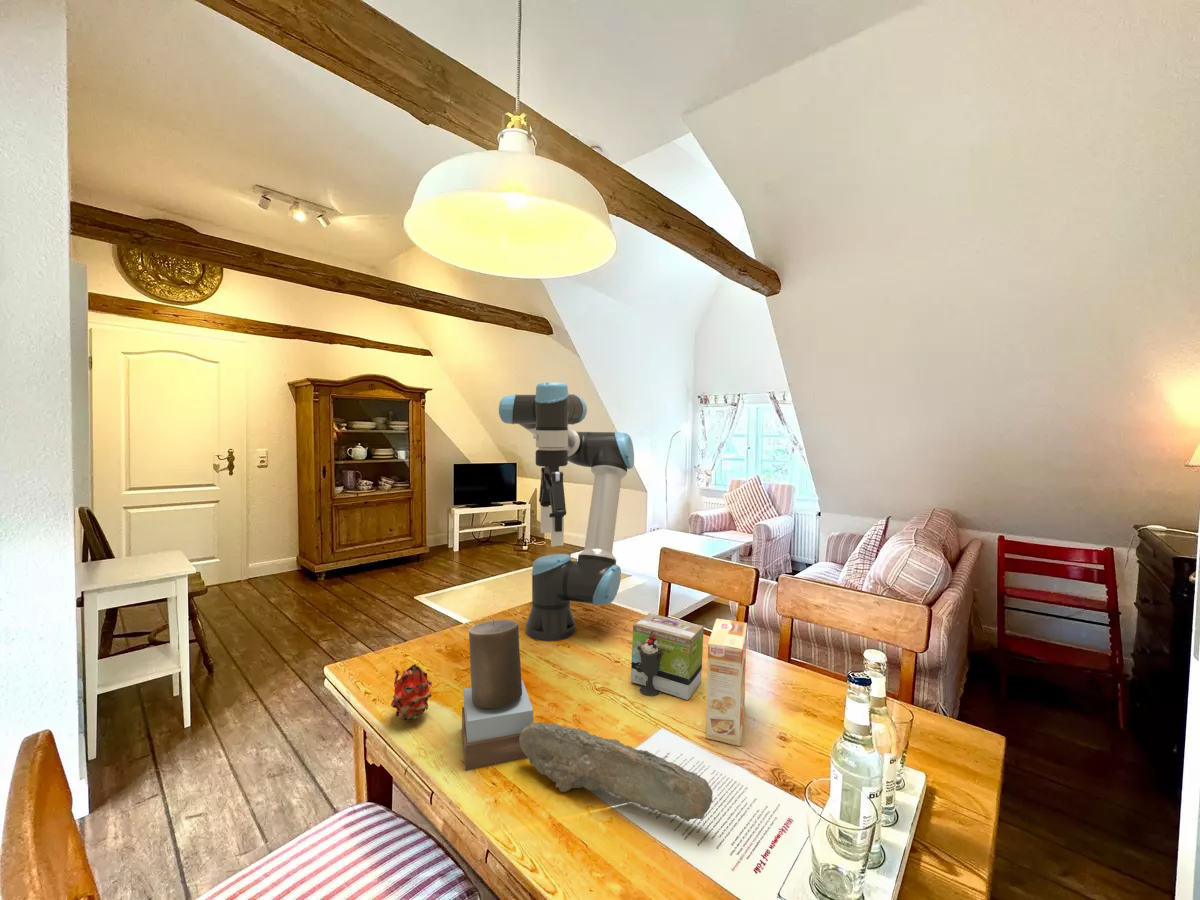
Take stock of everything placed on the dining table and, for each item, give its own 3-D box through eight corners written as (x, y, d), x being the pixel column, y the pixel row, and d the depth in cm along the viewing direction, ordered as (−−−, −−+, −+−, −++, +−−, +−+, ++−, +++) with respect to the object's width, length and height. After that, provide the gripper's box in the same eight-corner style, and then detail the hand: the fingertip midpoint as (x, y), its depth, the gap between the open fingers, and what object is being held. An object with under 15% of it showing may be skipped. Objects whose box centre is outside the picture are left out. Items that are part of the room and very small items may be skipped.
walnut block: (461, 730, 100) (462, 707, 100) (524, 719, 104) (525, 696, 104) (465, 772, 88) (465, 745, 87) (536, 758, 92) (537, 732, 92)
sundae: (645, 700, 111) (647, 635, 111) (630, 686, 117) (633, 625, 117) (669, 695, 114) (671, 631, 114) (654, 682, 120) (656, 621, 120)
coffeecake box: (741, 747, 95) (743, 649, 95) (704, 738, 98) (706, 643, 97) (746, 707, 109) (747, 621, 109) (713, 701, 112) (715, 617, 111)
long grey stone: (714, 820, 77) (716, 758, 77) (708, 845, 72) (710, 780, 72) (525, 759, 91) (526, 707, 91) (509, 778, 86) (510, 722, 86)
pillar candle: (527, 701, 93) (523, 621, 94) (474, 713, 89) (471, 630, 90) (516, 683, 102) (512, 610, 103) (468, 693, 98) (465, 617, 99)
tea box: (629, 683, 118) (631, 623, 118) (646, 667, 127) (648, 611, 127) (688, 701, 111) (691, 637, 111) (702, 683, 120) (704, 623, 119)
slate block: (463, 707, 100) (463, 688, 99) (522, 698, 103) (522, 679, 103) (467, 743, 88) (467, 721, 88) (533, 731, 92) (533, 710, 92)
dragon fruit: (379, 727, 100) (379, 670, 100) (405, 705, 108) (405, 652, 108) (415, 734, 98) (415, 676, 97) (439, 711, 106) (439, 657, 106)
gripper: (527, 446, 125) (527, 528, 126) (545, 451, 101) (545, 552, 102) (556, 446, 127) (556, 527, 128) (580, 451, 103) (579, 550, 104)
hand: (551, 538), depth 115 cm, fingers open, 13 cm apart
